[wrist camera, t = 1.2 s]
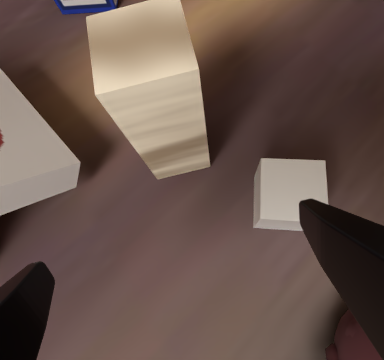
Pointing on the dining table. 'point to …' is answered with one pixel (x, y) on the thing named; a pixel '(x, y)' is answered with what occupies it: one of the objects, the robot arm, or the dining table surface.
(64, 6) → the milk carton
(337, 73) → the dining table surface
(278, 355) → the dining table surface
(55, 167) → the pizza boxes
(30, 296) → the robot arm
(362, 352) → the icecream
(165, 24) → the birch block
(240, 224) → the dining table surface
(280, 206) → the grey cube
